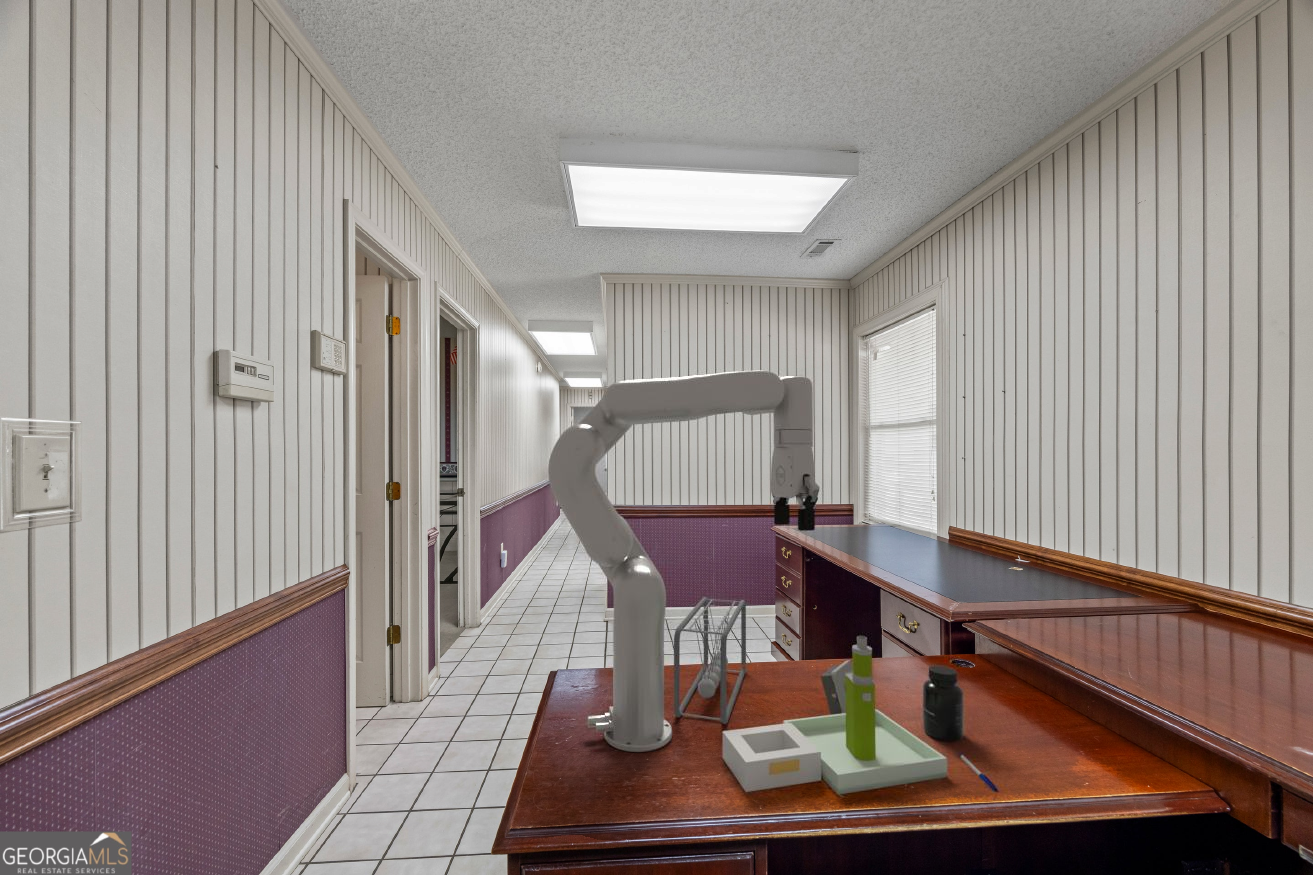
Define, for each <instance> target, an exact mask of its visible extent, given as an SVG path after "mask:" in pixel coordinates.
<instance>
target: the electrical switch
mask: <svg viewBox="0 0 1313 875" xmlns="http://www.w3.org/2000/svg"><path fill="white" fill-rule="evenodd" d="M847 672H853V661H851V660H850V659H849V660H847V659H846V660H845V661H844V662H843V663H840V664H834V665H832V666H831V667H830V668H829V669H827V670H826V671H825V672H823V673H822V674H821V675H820V679H821V685H822V687H823V690H824V694H825V699H826V701H827V705H828V709H829V712H830V715H834V714H842V713H846V696H845V673H847Z"/></svg>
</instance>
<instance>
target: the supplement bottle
mask: <svg viewBox="0 0 1313 875" xmlns="http://www.w3.org/2000/svg"><path fill="white" fill-rule="evenodd" d="M927 676H928V679H927V680H926V681H924V683H923V685H922V726H923V730H924V732H925V733H926V734H927V735H928V736H929V737H931V738H933V739H935V740H938V741H941V742H947V743H957V742H960V741H962V740H963V738H964V737H965V736H964V734H965V733H964V731H965V730H964V729H965V728H964V727H965V725H964V724H965V723H964V722H965V721H964V718H965V716H964V713H965V712H964V706H965V705H964V704H965V703H964V701H965V699H964V691H963V689H962V688H961V686H960V685H959V684H958V682H959V679H958V671H957V670H955V669H954V668H952V667H950V666H946V665H940V664H939V665H938V664H934V665H930V666H929V667H928V675H927Z"/></svg>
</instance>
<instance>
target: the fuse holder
mask: <svg viewBox="0 0 1313 875" xmlns="http://www.w3.org/2000/svg"><path fill="white" fill-rule="evenodd" d="M722 759H723V761H724V762H725V764H726V765H727V767H728V768H729V769H730V771H731V772H732V774H733V775H734V777H735V778H736V780H737V781H738V782H739V784H740V786H741V787H742V788H743V790H744V792H745V793H748V792H749V793H750V792H754V791H762V790H769V789H775V788H780V787H781V788H782V787H788V786H794V785H800V784H808V783H812V782H820V781H822V777H821V751H820V750H819V749H818V748H817V747H815V746H814V745H813V744H812V743H811V742H810V741H809V740H808V739H807V738H806V737H805V736H804V735H803V734H802V733H801V732H800V731H799V730H798V729H797V728H796V727H795V726H794V725H793V724H792V723H786V724H783V723H779V724H770V725H763V726H754V727H753V726H752V727H747V728H739V729H738V728H737V729H729V730H722Z"/></svg>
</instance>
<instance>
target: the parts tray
mask: <svg viewBox="0 0 1313 875" xmlns="http://www.w3.org/2000/svg"><path fill="white" fill-rule="evenodd" d="M786 723H792V724H793V725H794V726H795V727H796V728H797V729H798V730H799V731H800V732H801V733H802V734H803V735H804V736H805V737H806V738H807V739H808V740H809V741H810V742H811V743H812V744H813V745H814V746H815V747H817V748H818V749H819V750H820V751H821V779H822V780H823V781H825V783H826V784H827V785H828V786H829V787H830V788H831V789H832V790H833V791H834V792H835V793H836V795H839V796H841V795H847V794H850V793H857V792H863V791H871V790H875V789H881V788H882V789H883V788H888V787H896V786H900V785H906V784H911V783H918V782H924V781H926V782H927V781H931V780H932V781H933V780H938V779H944V778H947V777H948V758H947V757H946V756H944V755H943V754H942V753H940V752H939V751H938V750H936V749H935V748H934V747H931V746H930V745H929V744H927V743H926V742H925V741H923V740H922V739H920V738H919V737H918V736H916V735H915V734H913V733H912V732H910V731H909V730H907V729H906V728H904V727H903V726H902V725H900V724H899V723H897V722H896V721H895V720H893V719H891V718H890V717H889V716H888V715H886V714H884V713H883V712H882V711H880V710H878V709H876V708H875V744H876V759H875V760H873V761H860V760H857V759H855V758H854V757H853V756H852V754H851V753H850V752H849V750H848V749H847V748H846V713H842V714H834V715H831V714H827V715H819V716H811V717H803V718H796V719H795V718H793V719H786V720H783V721H782V724H786Z"/></svg>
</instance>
